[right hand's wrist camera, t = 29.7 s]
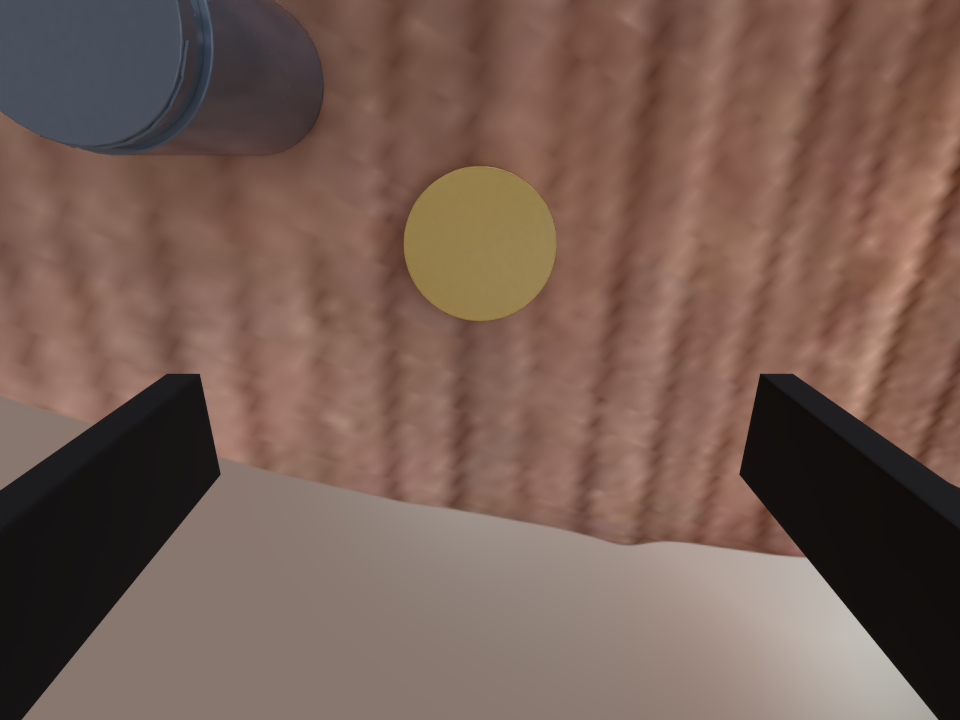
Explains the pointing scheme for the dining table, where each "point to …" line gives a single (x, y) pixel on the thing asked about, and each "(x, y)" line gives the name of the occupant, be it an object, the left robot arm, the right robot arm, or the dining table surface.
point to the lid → (480, 243)
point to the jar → (159, 75)
